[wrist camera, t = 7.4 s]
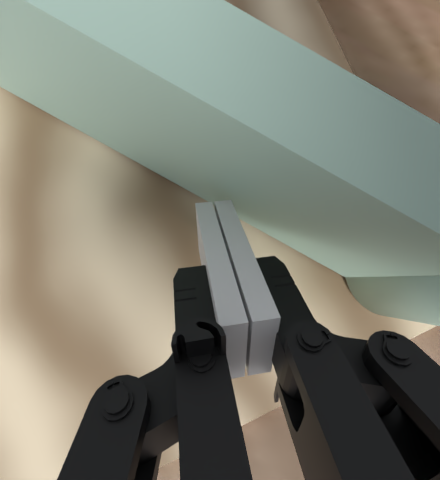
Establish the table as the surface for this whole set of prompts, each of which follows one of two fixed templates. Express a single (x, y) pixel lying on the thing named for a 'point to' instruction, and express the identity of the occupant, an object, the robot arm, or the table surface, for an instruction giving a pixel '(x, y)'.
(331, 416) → the robot arm
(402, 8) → the table surface
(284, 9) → the pintle board
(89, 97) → the link
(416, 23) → the table surface
